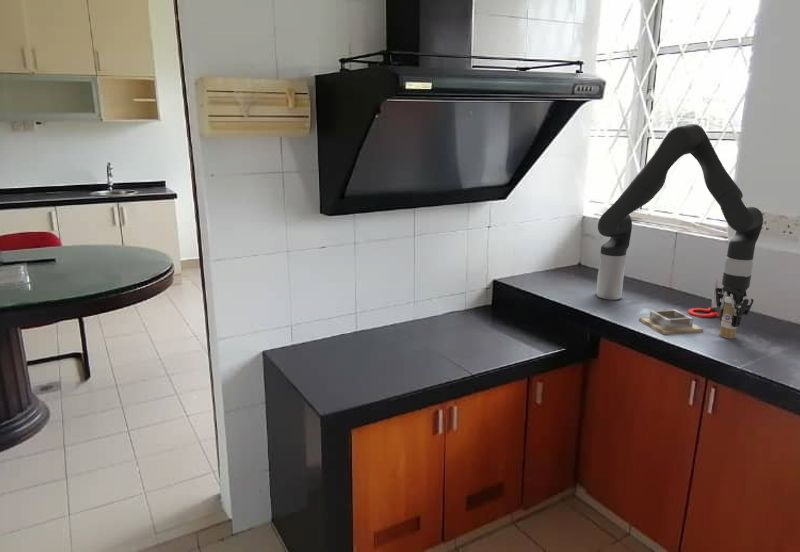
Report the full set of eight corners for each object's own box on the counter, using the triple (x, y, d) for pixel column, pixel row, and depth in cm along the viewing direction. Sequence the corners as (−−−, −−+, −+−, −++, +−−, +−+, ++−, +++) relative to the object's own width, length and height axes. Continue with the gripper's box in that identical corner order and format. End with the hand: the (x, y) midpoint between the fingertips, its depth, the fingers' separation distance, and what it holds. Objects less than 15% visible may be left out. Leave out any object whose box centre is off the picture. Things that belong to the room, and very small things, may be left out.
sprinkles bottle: (717, 336, 183) (723, 296, 180) (721, 332, 187) (727, 293, 183) (733, 340, 180) (740, 299, 177) (736, 336, 184) (743, 295, 180)
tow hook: (694, 318, 201) (721, 318, 200) (697, 283, 198) (725, 282, 197) (683, 311, 209) (710, 310, 209) (686, 277, 206) (713, 276, 205)
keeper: (639, 320, 198) (640, 309, 197) (675, 317, 201) (677, 306, 200) (663, 334, 185) (665, 323, 184) (702, 331, 187) (704, 320, 186)
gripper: (710, 266, 184) (703, 317, 189) (744, 278, 170) (735, 332, 175) (731, 265, 185) (723, 315, 190) (766, 277, 172) (756, 331, 176)
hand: (729, 323), depth 182 cm, fingers closed on sprinkles bottle, 4 cm apart
